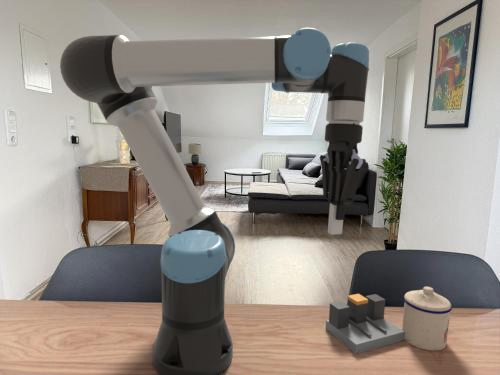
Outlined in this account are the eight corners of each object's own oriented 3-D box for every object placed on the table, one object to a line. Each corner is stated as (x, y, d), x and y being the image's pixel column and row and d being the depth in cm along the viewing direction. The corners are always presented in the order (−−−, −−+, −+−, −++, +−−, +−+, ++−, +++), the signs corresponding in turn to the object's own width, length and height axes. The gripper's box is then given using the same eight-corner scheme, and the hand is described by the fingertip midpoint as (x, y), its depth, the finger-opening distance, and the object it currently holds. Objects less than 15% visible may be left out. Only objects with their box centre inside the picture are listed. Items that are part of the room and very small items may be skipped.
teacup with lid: (455, 354, 69) (461, 299, 68) (407, 349, 70) (412, 295, 69) (432, 323, 81) (437, 276, 79) (391, 320, 82) (395, 273, 81)
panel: (355, 353, 69) (357, 323, 68) (325, 328, 78) (327, 301, 77) (404, 340, 74) (406, 311, 73) (370, 318, 83) (372, 292, 82)
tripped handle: (355, 324, 76) (356, 301, 75) (346, 317, 79) (347, 295, 78) (366, 321, 77) (368, 299, 76) (357, 315, 80) (358, 293, 79)
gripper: (380, 124, 67) (368, 240, 71) (340, 125, 79) (331, 225, 83) (349, 121, 65) (338, 243, 68) (312, 123, 77) (304, 226, 80)
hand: (334, 233), depth 75 cm, fingers closed
